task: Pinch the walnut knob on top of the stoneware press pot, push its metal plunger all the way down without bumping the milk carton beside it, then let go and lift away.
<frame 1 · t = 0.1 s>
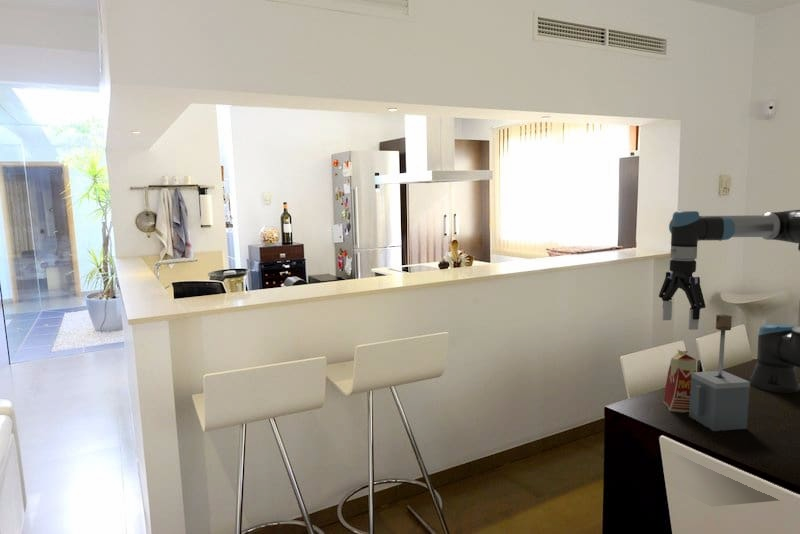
hand: (679, 324, 178), 28 cm above the table, tool pointing down, fingers open, 13 cm apart
plunger: (721, 355, 167), point 21 cm above the table, slide at 8.0 cm
milk carton: (680, 408, 182), on the table
press pot: (717, 422, 169), on the table
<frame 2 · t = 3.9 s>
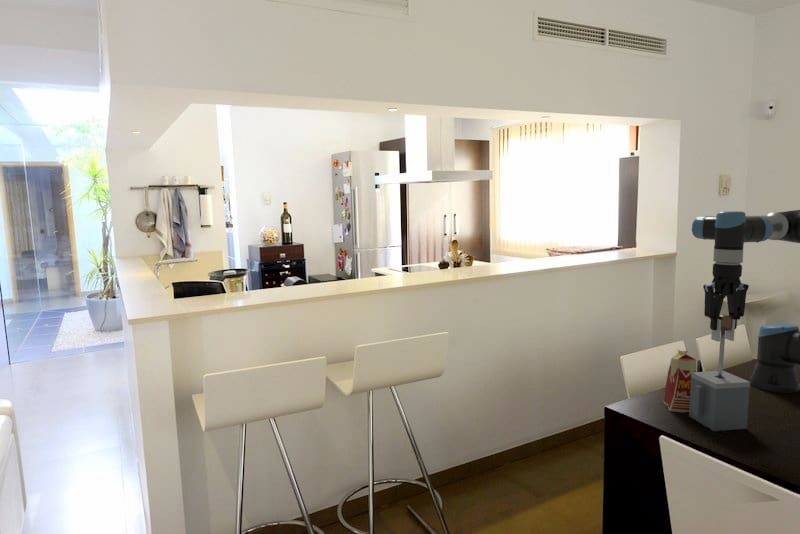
hand: (722, 339, 166), 26 cm above the table, tool pointing down, fingers closed on plunger, 4 cm apart
plunger: (721, 355, 167), point 21 cm above the table, slide at 8.0 cm, touching gripper
everything else where it was.
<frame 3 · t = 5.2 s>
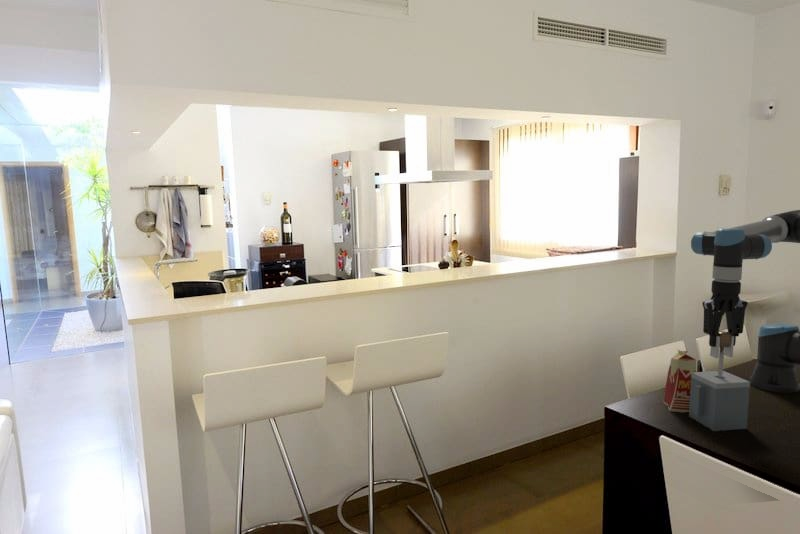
hand: (721, 356, 167), 21 cm above the table, tool pointing down, fingers closed on plunger, 4 cm apart
plunger: (720, 371, 167), point 16 cm above the table, slide at 2.8 cm, touching gripper
everything else where it was.
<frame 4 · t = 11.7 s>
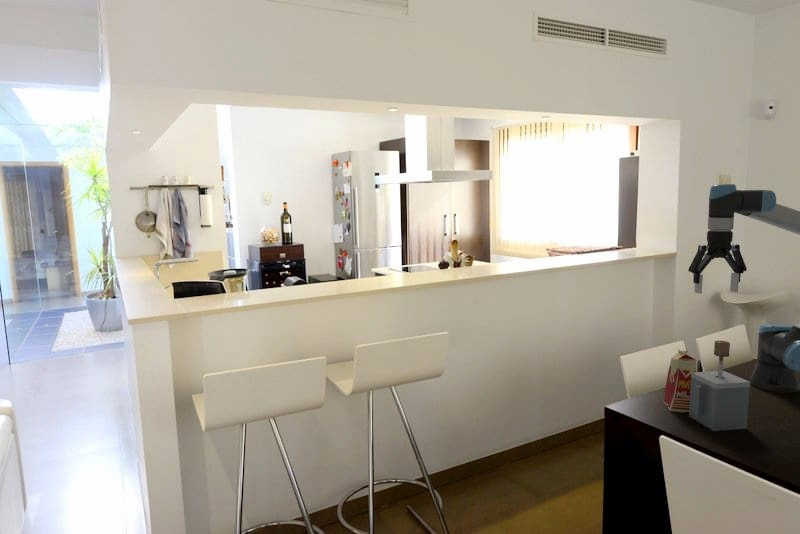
hand: (716, 292, 188), 37 cm above the table, tool pointing down, fingers open, 13 cm apart
plunger: (719, 380, 168), point 13 cm above the table, slide at -0.1 cm
everything else where it was.
at the end: plunger slide at -0.1 cm; the gripper is holding nothing; milk carton moved 0.2 cm from its start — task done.
